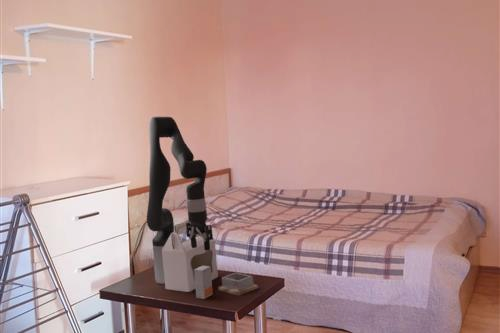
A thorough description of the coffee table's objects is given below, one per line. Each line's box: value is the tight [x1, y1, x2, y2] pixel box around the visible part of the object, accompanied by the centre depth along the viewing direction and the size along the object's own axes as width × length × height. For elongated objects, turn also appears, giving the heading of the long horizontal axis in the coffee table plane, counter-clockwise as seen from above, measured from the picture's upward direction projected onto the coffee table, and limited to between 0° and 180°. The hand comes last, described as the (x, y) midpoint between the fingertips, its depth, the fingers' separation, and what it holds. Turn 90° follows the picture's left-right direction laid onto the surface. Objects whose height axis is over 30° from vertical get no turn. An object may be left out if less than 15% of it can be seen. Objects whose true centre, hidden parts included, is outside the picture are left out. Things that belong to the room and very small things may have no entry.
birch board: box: [217, 283, 259, 296], centre depth 217 cm, size 13×11×1 cm
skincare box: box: [194, 266, 213, 300], centre depth 211 cm, size 6×4×12 cm
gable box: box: [162, 220, 219, 293], centre depth 229 cm, size 22×13×28 cm, turn 149°
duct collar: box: [221, 271, 255, 291], centre depth 217 cm, size 10×8×4 cm
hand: (200, 248), depth 209 cm, fingers open, 8 cm apart
